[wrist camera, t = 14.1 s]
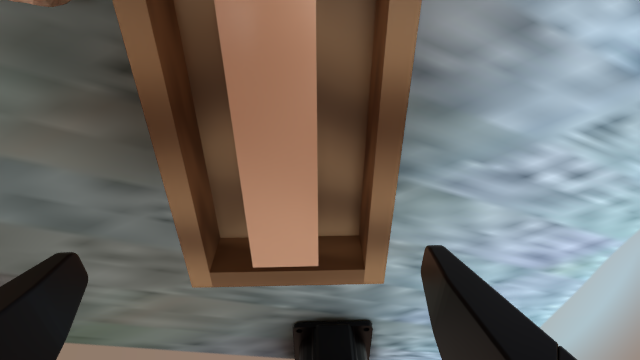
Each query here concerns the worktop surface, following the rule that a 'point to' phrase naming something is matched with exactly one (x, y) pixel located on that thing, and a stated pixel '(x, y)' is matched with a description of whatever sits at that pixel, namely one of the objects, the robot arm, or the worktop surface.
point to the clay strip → (274, 123)
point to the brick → (44, 2)
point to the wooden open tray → (332, 135)
